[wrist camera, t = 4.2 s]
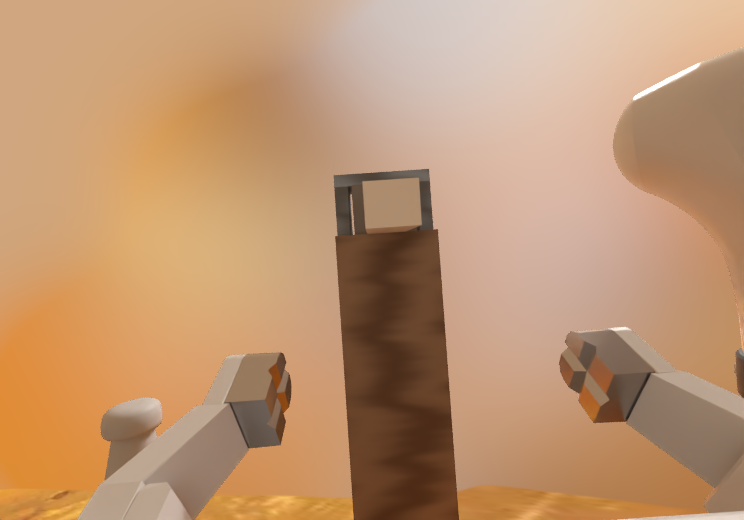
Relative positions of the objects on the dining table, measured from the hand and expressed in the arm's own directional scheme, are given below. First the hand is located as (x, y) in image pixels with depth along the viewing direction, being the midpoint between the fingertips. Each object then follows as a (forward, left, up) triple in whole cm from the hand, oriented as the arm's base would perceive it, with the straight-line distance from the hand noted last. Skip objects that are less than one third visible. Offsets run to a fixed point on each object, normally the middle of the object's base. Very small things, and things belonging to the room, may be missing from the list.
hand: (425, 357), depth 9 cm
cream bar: (0, -14, +5) cm, 15 cm away
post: (0, -18, -21) cm, 27 cm away
